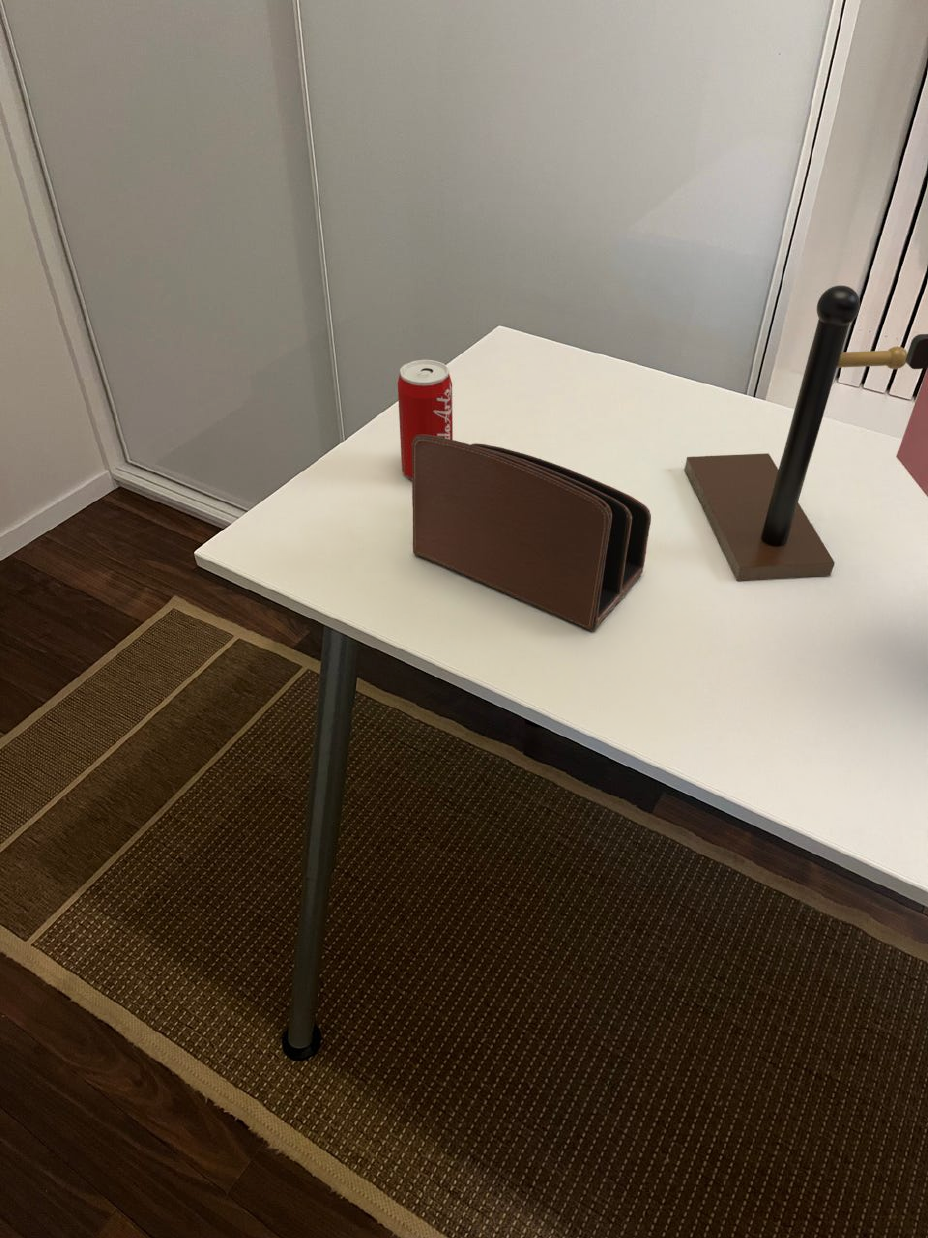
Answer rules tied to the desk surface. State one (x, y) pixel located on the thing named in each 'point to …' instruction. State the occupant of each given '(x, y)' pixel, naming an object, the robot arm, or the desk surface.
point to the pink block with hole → (917, 440)
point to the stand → (783, 465)
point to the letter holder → (527, 527)
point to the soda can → (423, 405)
